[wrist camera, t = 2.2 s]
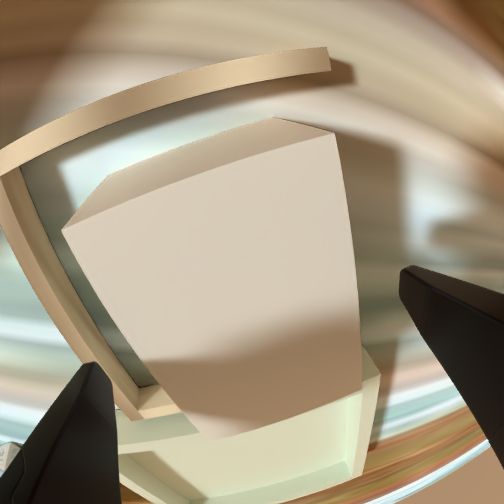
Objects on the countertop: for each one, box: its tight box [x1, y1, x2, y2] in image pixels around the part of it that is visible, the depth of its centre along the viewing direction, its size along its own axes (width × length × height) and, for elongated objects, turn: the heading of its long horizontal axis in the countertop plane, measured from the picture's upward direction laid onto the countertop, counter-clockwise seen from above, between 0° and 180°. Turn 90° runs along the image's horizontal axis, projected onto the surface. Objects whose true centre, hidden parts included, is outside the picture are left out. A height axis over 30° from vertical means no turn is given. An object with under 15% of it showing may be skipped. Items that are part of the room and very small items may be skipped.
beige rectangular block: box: [61, 117, 363, 442], centre depth 10 cm, size 6×9×5 cm, turn 16°
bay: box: [0, 47, 332, 421], centre depth 12 cm, size 12×14×2 cm
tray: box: [115, 344, 381, 504], centre depth 19 cm, size 17×17×2 cm
